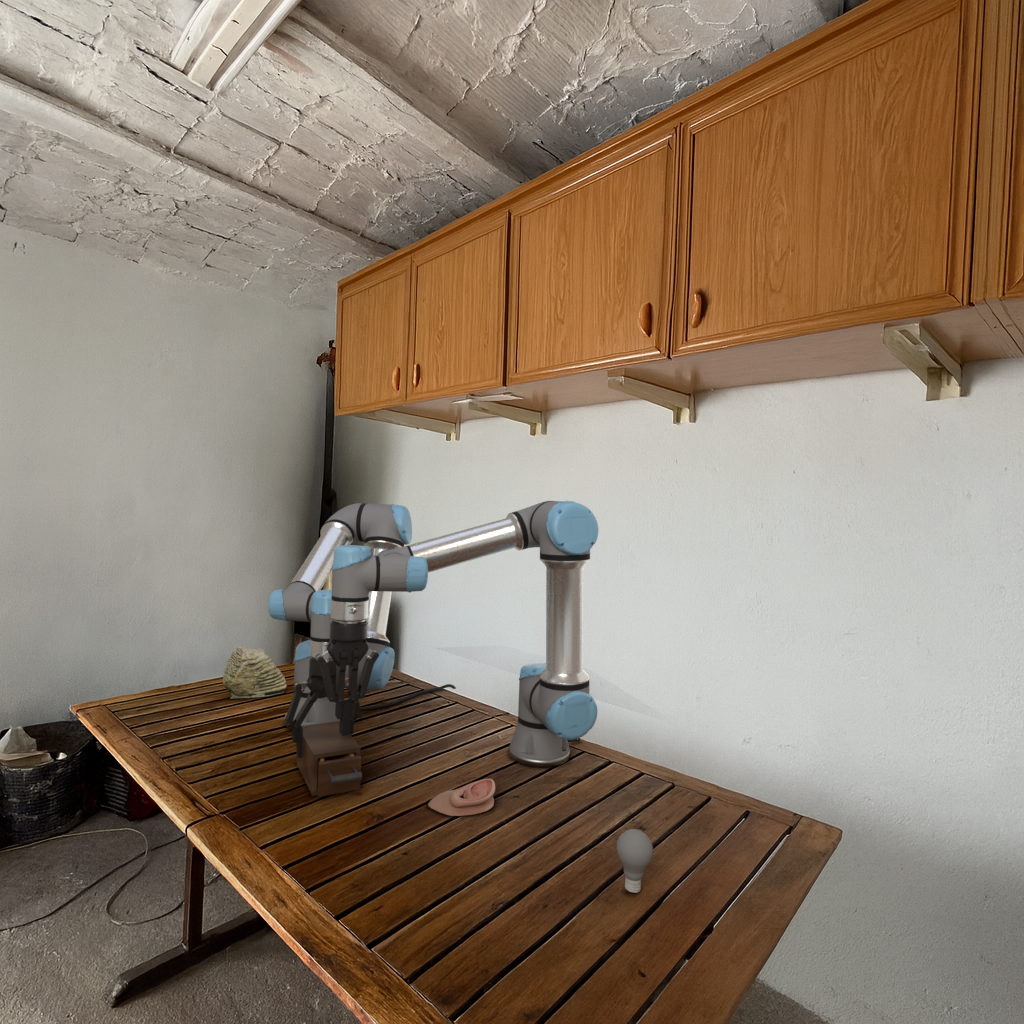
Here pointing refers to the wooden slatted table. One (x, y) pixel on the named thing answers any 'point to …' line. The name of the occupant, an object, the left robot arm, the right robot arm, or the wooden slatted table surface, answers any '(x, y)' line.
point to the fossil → (252, 674)
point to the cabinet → (322, 749)
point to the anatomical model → (466, 799)
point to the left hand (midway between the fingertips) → (322, 751)
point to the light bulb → (634, 857)
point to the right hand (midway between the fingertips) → (344, 733)
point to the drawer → (338, 774)
